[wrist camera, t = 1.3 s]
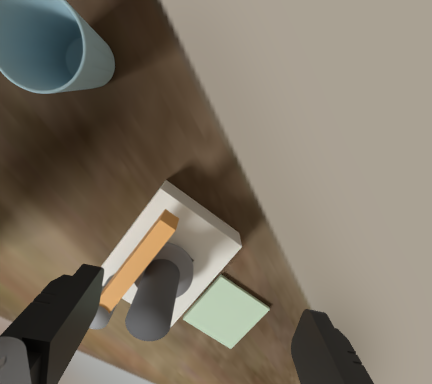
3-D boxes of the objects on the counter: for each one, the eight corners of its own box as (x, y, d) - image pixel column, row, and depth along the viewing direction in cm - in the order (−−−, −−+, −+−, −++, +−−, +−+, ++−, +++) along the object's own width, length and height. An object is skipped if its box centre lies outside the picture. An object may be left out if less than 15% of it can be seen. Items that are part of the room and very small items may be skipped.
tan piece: (111, 310, 33) (99, 333, 30) (90, 297, 33) (76, 320, 29) (183, 220, 30) (179, 234, 27) (161, 205, 30) (155, 217, 26)
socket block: (174, 307, 41) (167, 342, 35) (103, 263, 39) (83, 292, 33) (239, 232, 38) (244, 256, 32) (165, 179, 36) (156, 194, 29)
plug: (176, 279, 40) (158, 366, 26) (134, 252, 38) (93, 329, 25) (206, 243, 38) (203, 316, 25) (164, 214, 37) (136, 274, 24)
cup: (139, 61, 32) (105, 40, 22) (97, 112, 33) (48, 114, 23) (85, 7, 30) (21, -43, 20) (43, 63, 32) (-35, 42, 22)
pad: (230, 345, 43) (230, 349, 43) (183, 316, 42) (182, 319, 41) (268, 306, 41) (269, 309, 41) (220, 274, 40) (221, 276, 39)
